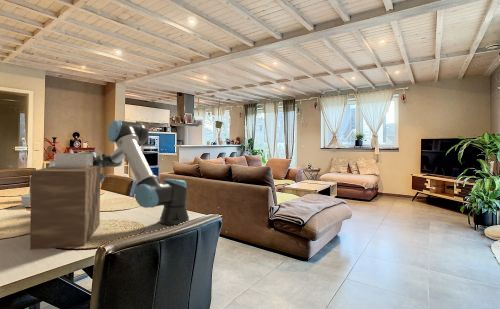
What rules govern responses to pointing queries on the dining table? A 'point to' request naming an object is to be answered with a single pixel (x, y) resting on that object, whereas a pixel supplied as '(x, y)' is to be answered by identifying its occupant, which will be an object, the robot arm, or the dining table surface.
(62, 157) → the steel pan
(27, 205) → the ramekin
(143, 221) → the dining table surface
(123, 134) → the robot arm
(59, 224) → the walnut cabinet
